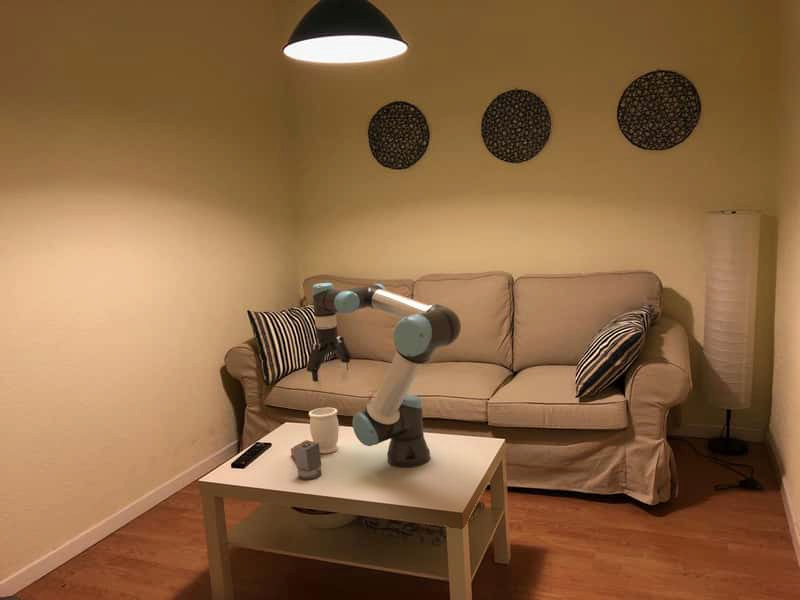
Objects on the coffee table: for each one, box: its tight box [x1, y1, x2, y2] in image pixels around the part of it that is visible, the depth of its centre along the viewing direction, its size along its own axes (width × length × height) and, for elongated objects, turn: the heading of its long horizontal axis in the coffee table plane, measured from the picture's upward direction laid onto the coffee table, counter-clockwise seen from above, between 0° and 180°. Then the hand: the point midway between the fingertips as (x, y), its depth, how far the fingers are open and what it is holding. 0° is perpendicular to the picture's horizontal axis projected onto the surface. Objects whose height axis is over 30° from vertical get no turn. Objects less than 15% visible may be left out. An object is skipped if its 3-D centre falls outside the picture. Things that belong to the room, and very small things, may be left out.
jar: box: [308, 407, 340, 455], centre depth 257 cm, size 11×10×15 cm
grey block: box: [293, 439, 323, 472], centre depth 234 cm, size 6×6×8 cm
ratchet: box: [290, 447, 323, 482], centre depth 243 cm, size 26×8×7 cm, turn 21°
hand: (331, 384), depth 247 cm, fingers open, 13 cm apart
